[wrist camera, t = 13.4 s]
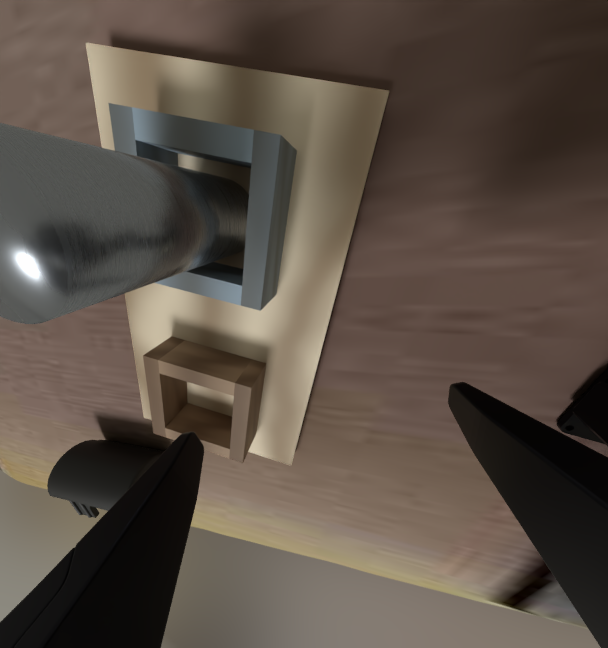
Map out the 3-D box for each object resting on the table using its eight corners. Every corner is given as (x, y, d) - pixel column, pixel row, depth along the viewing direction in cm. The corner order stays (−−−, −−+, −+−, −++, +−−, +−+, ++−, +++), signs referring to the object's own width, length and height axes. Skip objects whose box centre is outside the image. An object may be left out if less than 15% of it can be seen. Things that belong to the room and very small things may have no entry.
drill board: (386, 103, 13) (398, 52, 8) (294, 452, 25) (282, 497, 21) (111, 58, 14) (13, -2, 10) (154, 407, 27) (118, 441, 23)
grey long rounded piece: (270, 211, 14) (85, 213, 5) (235, 268, 16) (52, 354, 7) (209, 159, 14) (-145, 37, 4) (180, 224, 16) (-106, 247, 6)
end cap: (167, 436, 29) (117, 496, 23) (181, 475, 32) (139, 538, 26) (98, 424, 31) (34, 476, 25) (117, 462, 34) (64, 517, 27)
